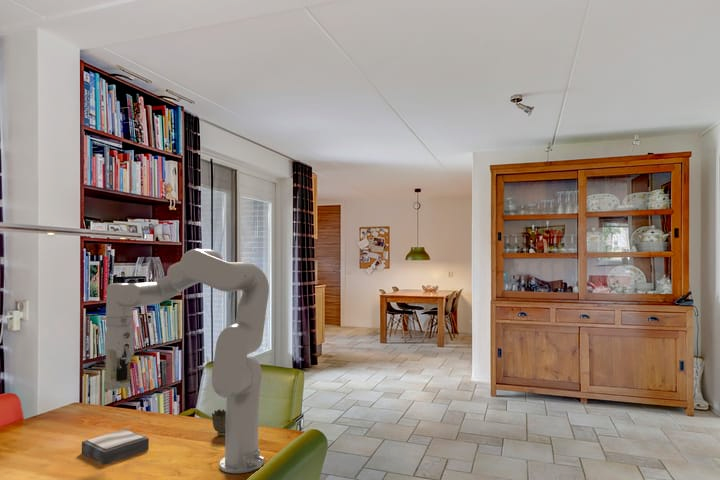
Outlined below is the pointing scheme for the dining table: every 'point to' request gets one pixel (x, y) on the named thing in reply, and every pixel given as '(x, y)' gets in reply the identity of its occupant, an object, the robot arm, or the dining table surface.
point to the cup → (219, 422)
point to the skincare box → (114, 372)
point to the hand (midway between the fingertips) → (117, 378)
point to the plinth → (115, 446)
